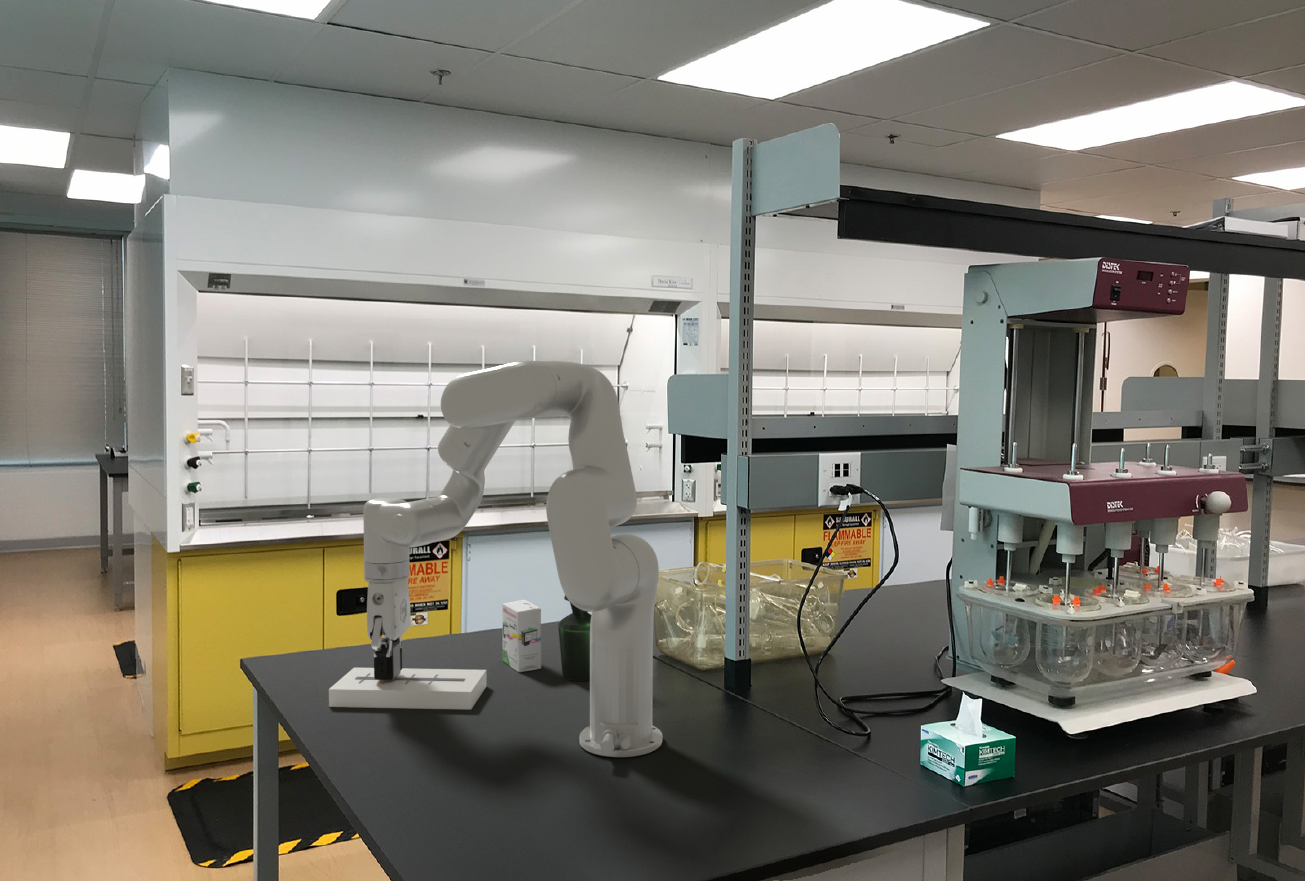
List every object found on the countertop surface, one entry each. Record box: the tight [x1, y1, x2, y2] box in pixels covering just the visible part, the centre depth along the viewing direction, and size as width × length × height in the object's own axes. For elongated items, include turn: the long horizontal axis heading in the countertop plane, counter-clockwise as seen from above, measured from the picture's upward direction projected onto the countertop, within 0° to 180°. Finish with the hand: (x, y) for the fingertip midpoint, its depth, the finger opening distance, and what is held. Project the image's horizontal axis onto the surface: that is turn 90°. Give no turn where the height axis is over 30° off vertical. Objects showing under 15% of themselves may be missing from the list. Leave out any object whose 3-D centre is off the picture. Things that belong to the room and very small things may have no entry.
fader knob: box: [382, 641, 401, 680], centre depth 165 cm, size 4×3×6 cm
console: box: [328, 667, 487, 710], centre depth 165 cm, size 12×24×3 cm, turn 88°
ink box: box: [501, 599, 542, 673], centre depth 183 cm, size 8×5×12 cm, turn 30°
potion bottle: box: [557, 594, 592, 682], centre depth 176 cm, size 8×8×18 cm
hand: (388, 673), depth 165 cm, fingers closed on fader knob, 4 cm apart
